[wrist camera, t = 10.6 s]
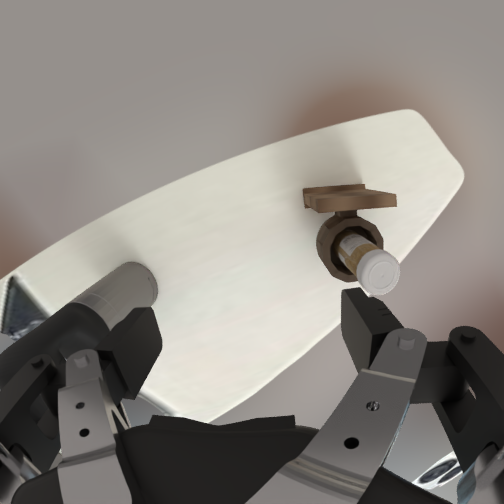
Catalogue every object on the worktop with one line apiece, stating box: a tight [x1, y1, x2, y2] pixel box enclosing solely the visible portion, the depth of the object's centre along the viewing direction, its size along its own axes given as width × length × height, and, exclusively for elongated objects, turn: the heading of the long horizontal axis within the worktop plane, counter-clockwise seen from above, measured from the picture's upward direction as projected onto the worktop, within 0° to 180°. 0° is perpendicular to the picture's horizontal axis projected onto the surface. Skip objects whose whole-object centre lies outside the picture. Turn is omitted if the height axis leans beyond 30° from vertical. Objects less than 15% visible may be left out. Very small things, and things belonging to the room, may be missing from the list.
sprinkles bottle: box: [332, 230, 400, 295], centre depth 32 cm, size 5×5×14 cm
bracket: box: [303, 184, 397, 282], centre depth 37 cm, size 10×12×12 cm
